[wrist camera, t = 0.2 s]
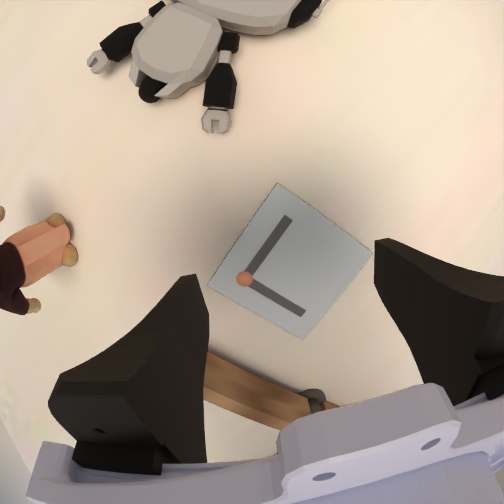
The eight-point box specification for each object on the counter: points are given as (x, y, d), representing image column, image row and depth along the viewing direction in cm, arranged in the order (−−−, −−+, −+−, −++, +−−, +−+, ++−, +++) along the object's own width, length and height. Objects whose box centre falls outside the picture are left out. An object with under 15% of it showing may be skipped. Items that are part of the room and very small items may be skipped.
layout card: (301, 337, 26) (302, 340, 25) (207, 283, 24) (206, 286, 23) (371, 251, 23) (373, 253, 23) (277, 182, 21) (277, 183, 21)
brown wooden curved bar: (322, 402, 27) (333, 441, 23) (312, 412, 28) (321, 451, 23) (196, 343, 24) (187, 384, 20) (187, 355, 25) (177, 397, 20)
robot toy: (230, 144, 21) (340, -9, 16) (223, 149, 17) (357, -33, 12) (95, 72, 19) (202, -71, 14) (64, 65, 15) (193, -100, 10)
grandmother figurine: (96, 267, 23) (4, 362, 11) (64, 283, 23) (-24, 372, 11) (53, 181, 21) (-69, 224, 9) (24, 204, 21) (-88, 255, 9)
